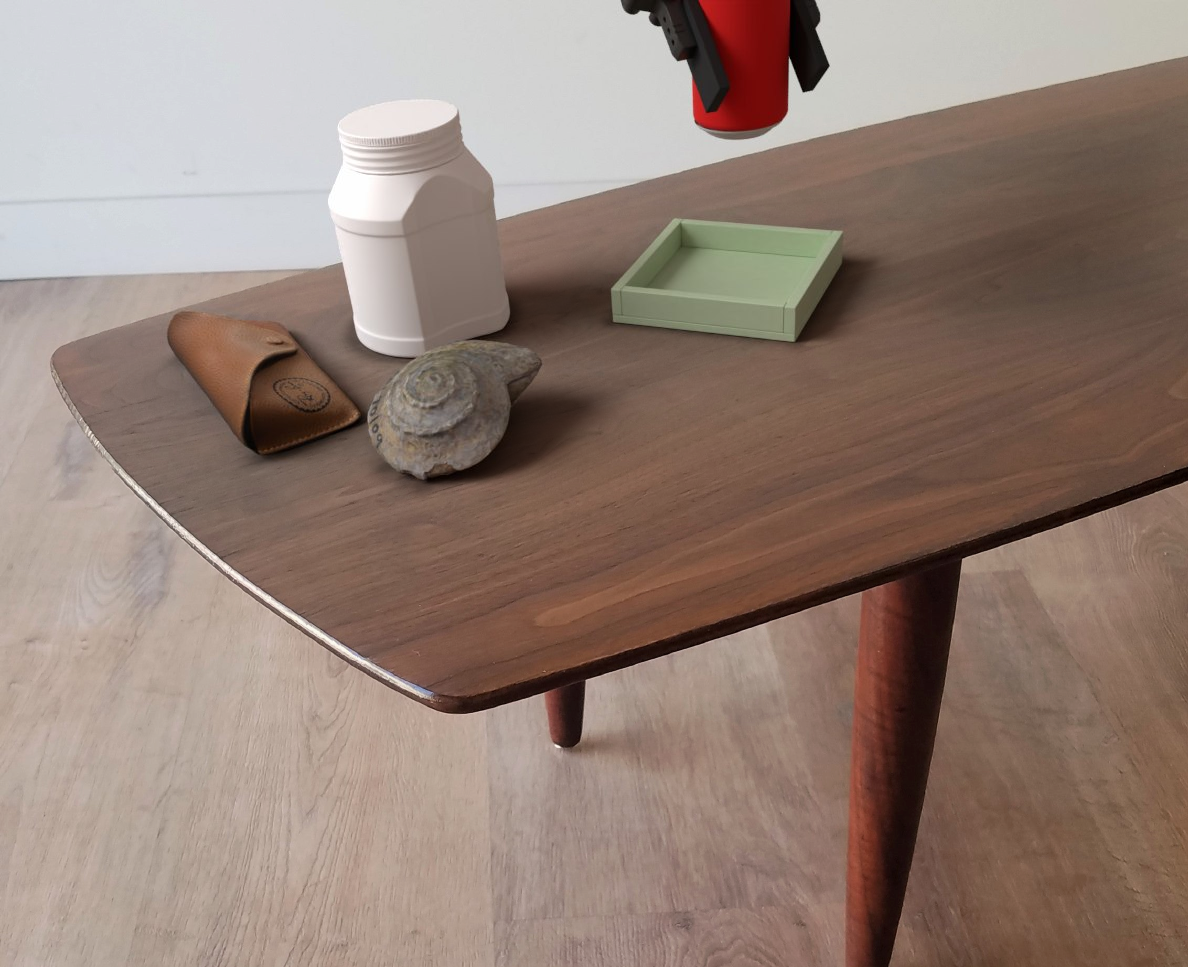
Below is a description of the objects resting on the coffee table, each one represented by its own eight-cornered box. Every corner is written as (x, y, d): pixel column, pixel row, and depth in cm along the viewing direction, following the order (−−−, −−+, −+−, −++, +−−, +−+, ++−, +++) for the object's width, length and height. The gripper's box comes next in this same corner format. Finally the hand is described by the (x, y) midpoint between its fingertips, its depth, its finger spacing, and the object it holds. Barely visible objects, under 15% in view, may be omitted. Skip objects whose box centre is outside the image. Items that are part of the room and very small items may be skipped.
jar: (467, 280, 97) (437, 84, 88) (532, 319, 91) (507, 111, 82) (336, 326, 92) (290, 123, 83) (395, 370, 86) (352, 155, 77)
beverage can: (682, 123, 83) (675, -75, 76) (769, 109, 84) (771, -88, 76) (709, 150, 78) (705, -58, 71) (801, 136, 79) (806, -72, 72)
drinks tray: (842, 263, 94) (843, 230, 93) (794, 342, 85) (795, 307, 83) (675, 249, 99) (674, 217, 97) (612, 322, 89) (610, 289, 88)
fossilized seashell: (339, 407, 79) (361, 310, 75) (478, 404, 85) (506, 314, 81) (411, 505, 73) (440, 405, 69) (555, 494, 79) (589, 401, 75)
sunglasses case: (371, 412, 80) (303, 348, 76) (297, 490, 80) (224, 431, 76) (278, 320, 93) (215, 260, 88) (214, 387, 93) (147, 331, 88)
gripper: (757, -208, 84) (873, 94, 82) (496, -171, 79) (612, 152, 77) (798, -303, 77) (927, 26, 75) (513, -269, 72) (643, 84, 70)
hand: (767, 89), depth 76 cm, fingers closed on beverage can, 6 cm apart
